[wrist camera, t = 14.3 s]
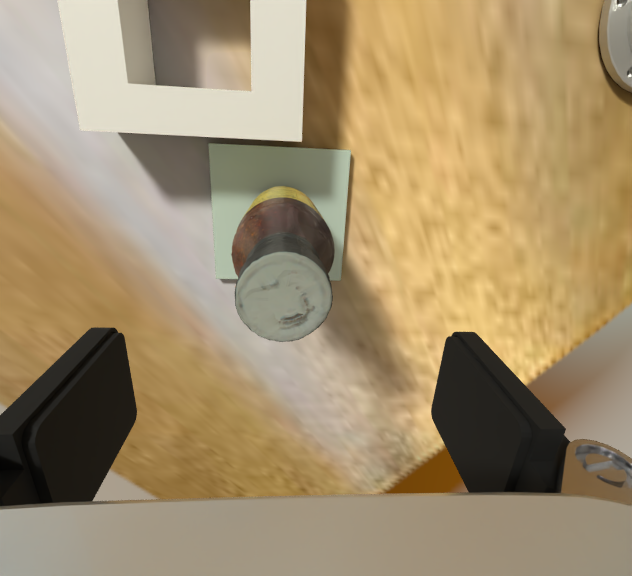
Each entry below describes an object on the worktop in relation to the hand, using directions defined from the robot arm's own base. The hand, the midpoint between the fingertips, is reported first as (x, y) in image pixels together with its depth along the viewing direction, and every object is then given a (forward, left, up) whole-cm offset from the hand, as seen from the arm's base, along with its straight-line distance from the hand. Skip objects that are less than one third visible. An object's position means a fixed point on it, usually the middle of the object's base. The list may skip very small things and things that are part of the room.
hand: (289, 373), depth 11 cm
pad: (0, 0, -25) cm, 25 cm away
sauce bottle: (0, 0, -25) cm, 25 cm away
